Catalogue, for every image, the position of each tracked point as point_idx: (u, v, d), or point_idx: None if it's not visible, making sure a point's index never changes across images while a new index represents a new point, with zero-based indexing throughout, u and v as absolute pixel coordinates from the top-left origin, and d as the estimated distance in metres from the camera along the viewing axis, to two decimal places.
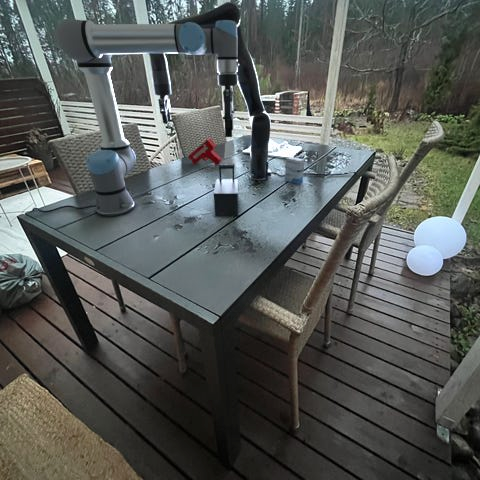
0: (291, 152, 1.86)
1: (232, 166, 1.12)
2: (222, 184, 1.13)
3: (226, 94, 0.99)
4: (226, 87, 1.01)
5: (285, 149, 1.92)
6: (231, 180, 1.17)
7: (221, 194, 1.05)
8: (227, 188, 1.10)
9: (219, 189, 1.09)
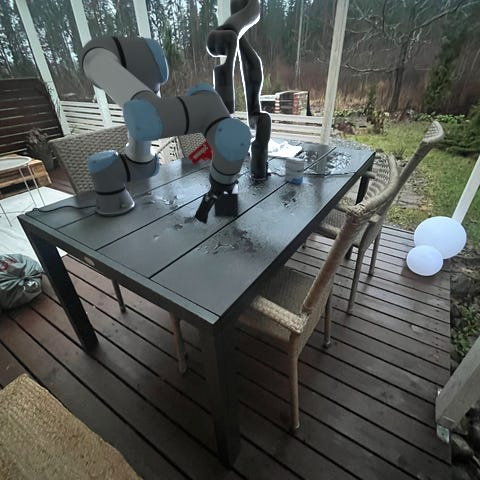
0: (291, 152, 1.86)
1: None
2: None
3: (204, 200, 0.72)
4: (212, 188, 0.71)
5: (285, 149, 1.92)
6: None
7: None
8: None
9: None
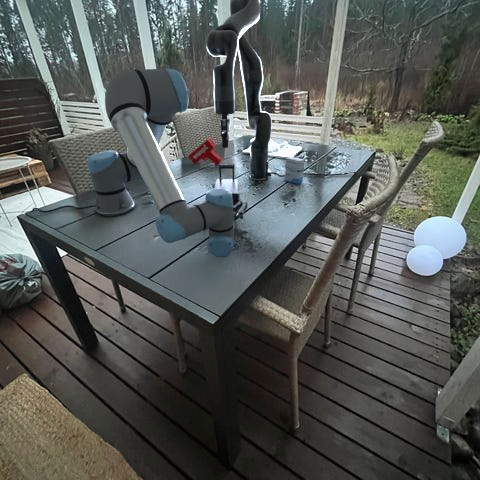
0: (291, 152, 1.86)
1: (232, 166, 1.12)
2: (222, 184, 1.13)
3: None
4: None
5: (285, 149, 1.92)
6: (231, 180, 1.17)
7: None
8: (227, 188, 1.10)
9: None
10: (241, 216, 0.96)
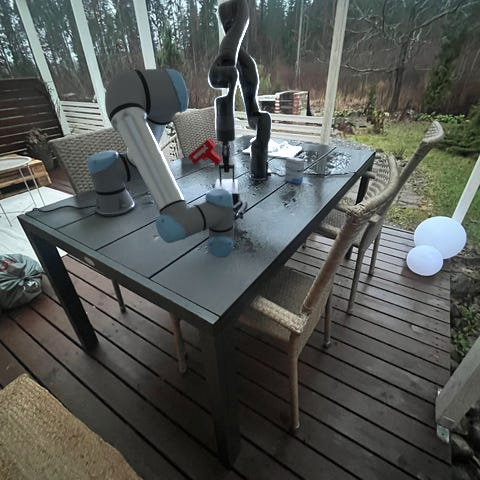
0: (291, 152, 1.86)
1: (232, 166, 1.12)
2: (222, 184, 1.13)
3: None
4: None
5: (285, 149, 1.92)
6: (231, 180, 1.17)
7: None
8: (227, 188, 1.10)
9: None
10: (241, 216, 0.96)
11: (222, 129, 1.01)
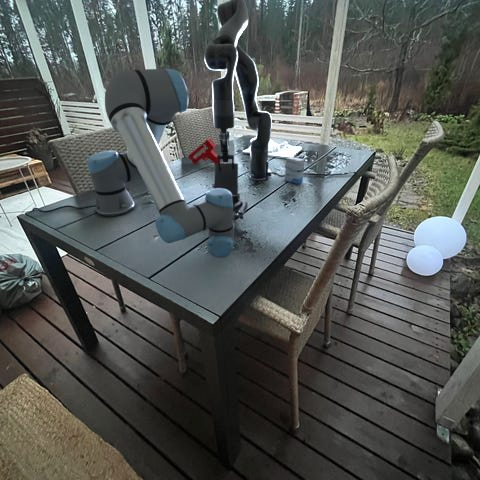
0: (291, 152, 1.86)
1: (231, 157, 1.05)
2: (222, 175, 1.09)
3: None
4: None
5: (285, 149, 1.92)
6: (231, 166, 1.12)
7: None
8: (227, 183, 1.07)
9: (219, 184, 1.07)
10: (241, 216, 0.96)
11: (220, 115, 0.94)
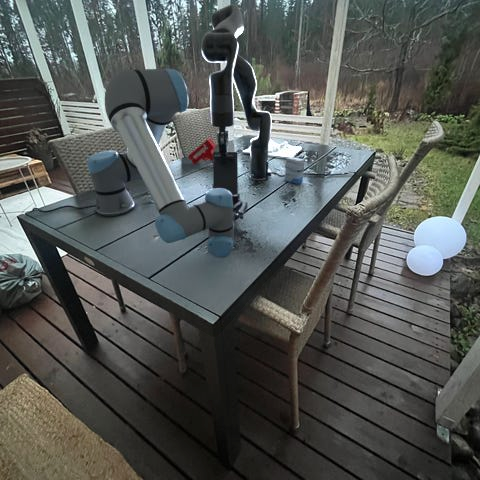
0: (291, 152, 1.86)
1: (231, 159, 0.96)
2: (220, 169, 1.03)
3: None
4: None
5: (285, 149, 1.92)
6: None
7: None
8: (226, 180, 1.04)
9: (218, 182, 1.04)
10: (241, 216, 0.96)
11: (218, 111, 0.85)
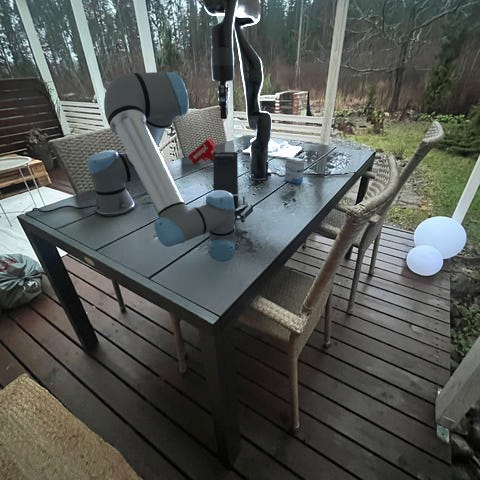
0: (291, 152, 1.86)
1: (231, 159, 0.96)
2: (221, 169, 1.04)
3: None
4: None
5: (285, 149, 1.92)
6: None
7: None
8: (226, 180, 1.04)
9: (219, 182, 1.04)
10: (242, 219, 0.94)
11: (219, 64, 0.87)
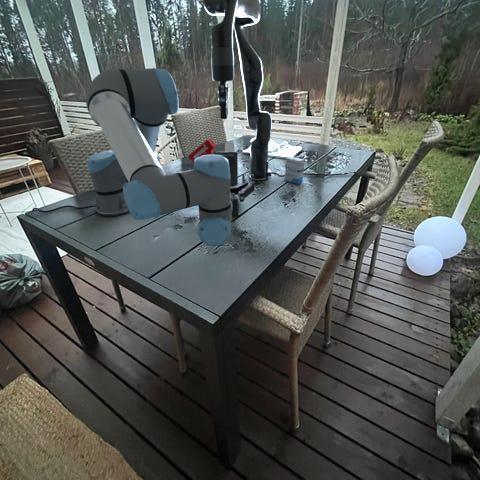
0: (291, 152, 1.86)
1: (231, 159, 0.96)
2: None
3: None
4: None
5: (285, 149, 1.92)
6: None
7: None
8: None
9: None
10: (241, 198, 0.77)
11: (219, 64, 0.87)
